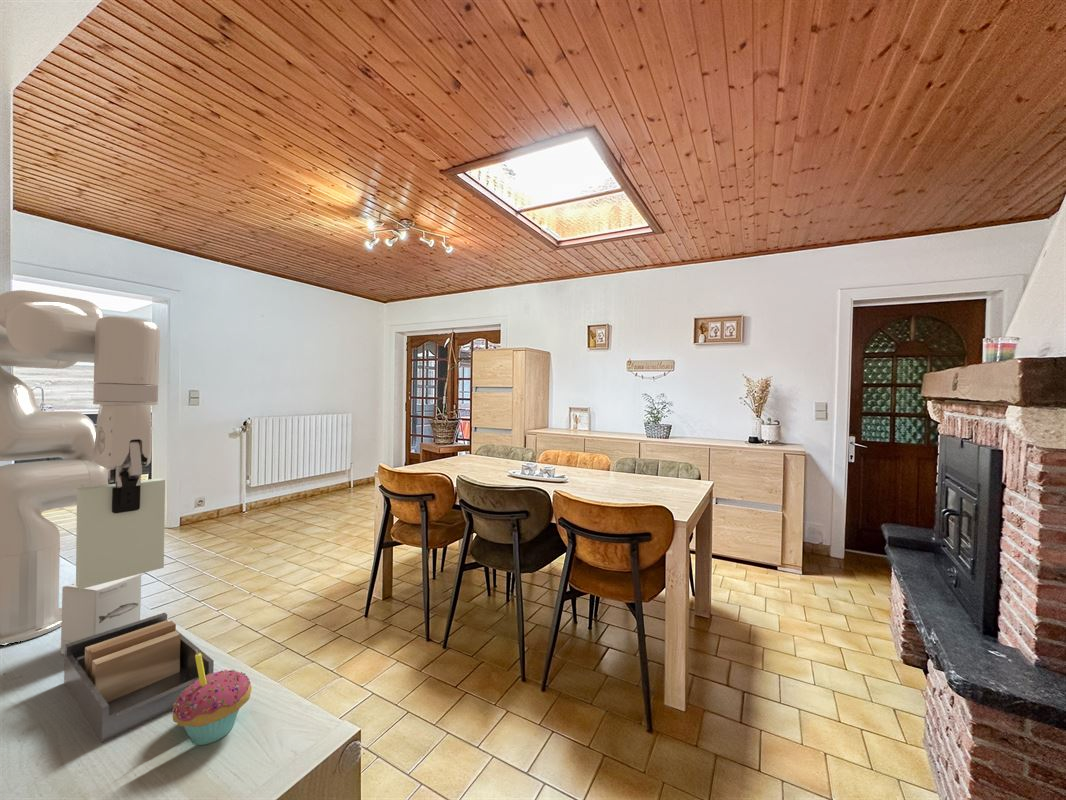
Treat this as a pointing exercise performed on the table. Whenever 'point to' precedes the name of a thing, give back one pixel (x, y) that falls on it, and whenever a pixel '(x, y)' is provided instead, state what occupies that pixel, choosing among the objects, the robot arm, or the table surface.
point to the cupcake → (211, 703)
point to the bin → (134, 705)
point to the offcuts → (133, 659)
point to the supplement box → (99, 608)
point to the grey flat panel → (118, 534)
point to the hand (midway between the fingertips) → (123, 509)
